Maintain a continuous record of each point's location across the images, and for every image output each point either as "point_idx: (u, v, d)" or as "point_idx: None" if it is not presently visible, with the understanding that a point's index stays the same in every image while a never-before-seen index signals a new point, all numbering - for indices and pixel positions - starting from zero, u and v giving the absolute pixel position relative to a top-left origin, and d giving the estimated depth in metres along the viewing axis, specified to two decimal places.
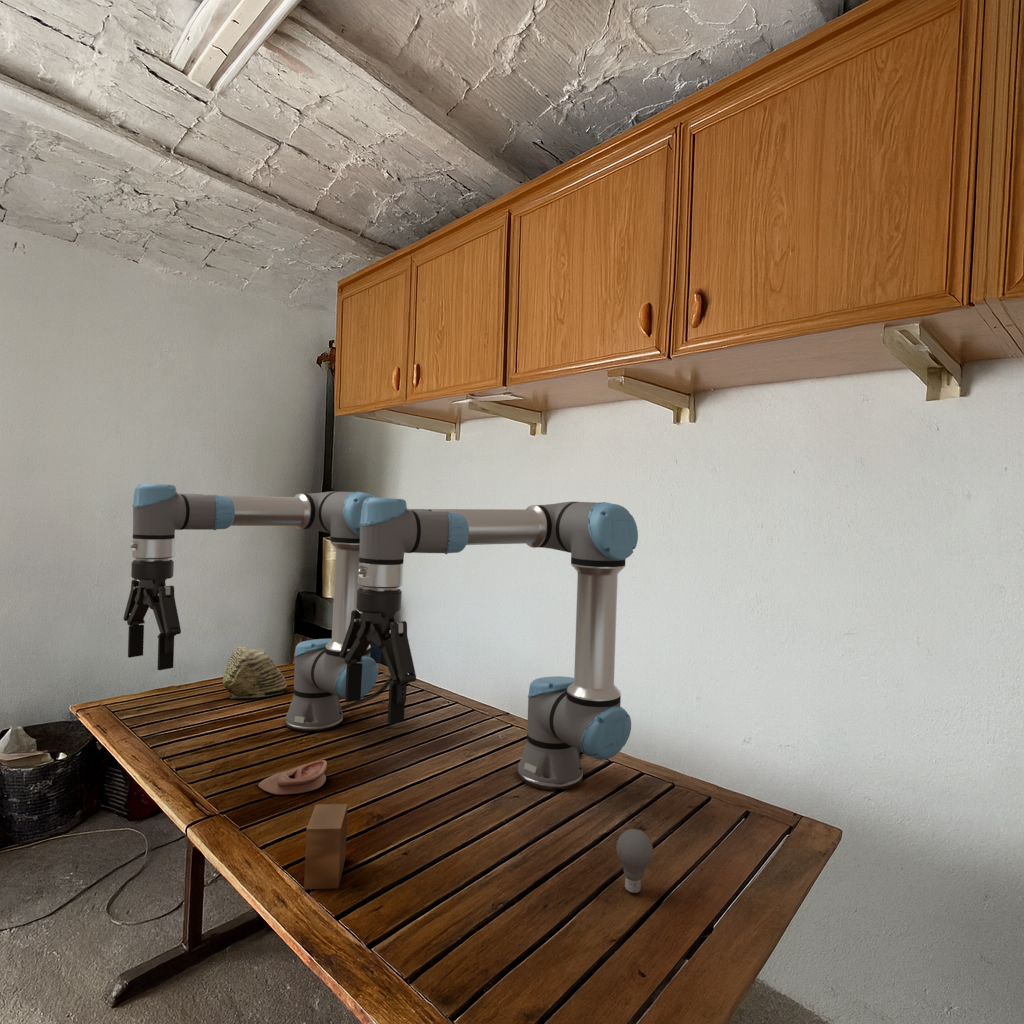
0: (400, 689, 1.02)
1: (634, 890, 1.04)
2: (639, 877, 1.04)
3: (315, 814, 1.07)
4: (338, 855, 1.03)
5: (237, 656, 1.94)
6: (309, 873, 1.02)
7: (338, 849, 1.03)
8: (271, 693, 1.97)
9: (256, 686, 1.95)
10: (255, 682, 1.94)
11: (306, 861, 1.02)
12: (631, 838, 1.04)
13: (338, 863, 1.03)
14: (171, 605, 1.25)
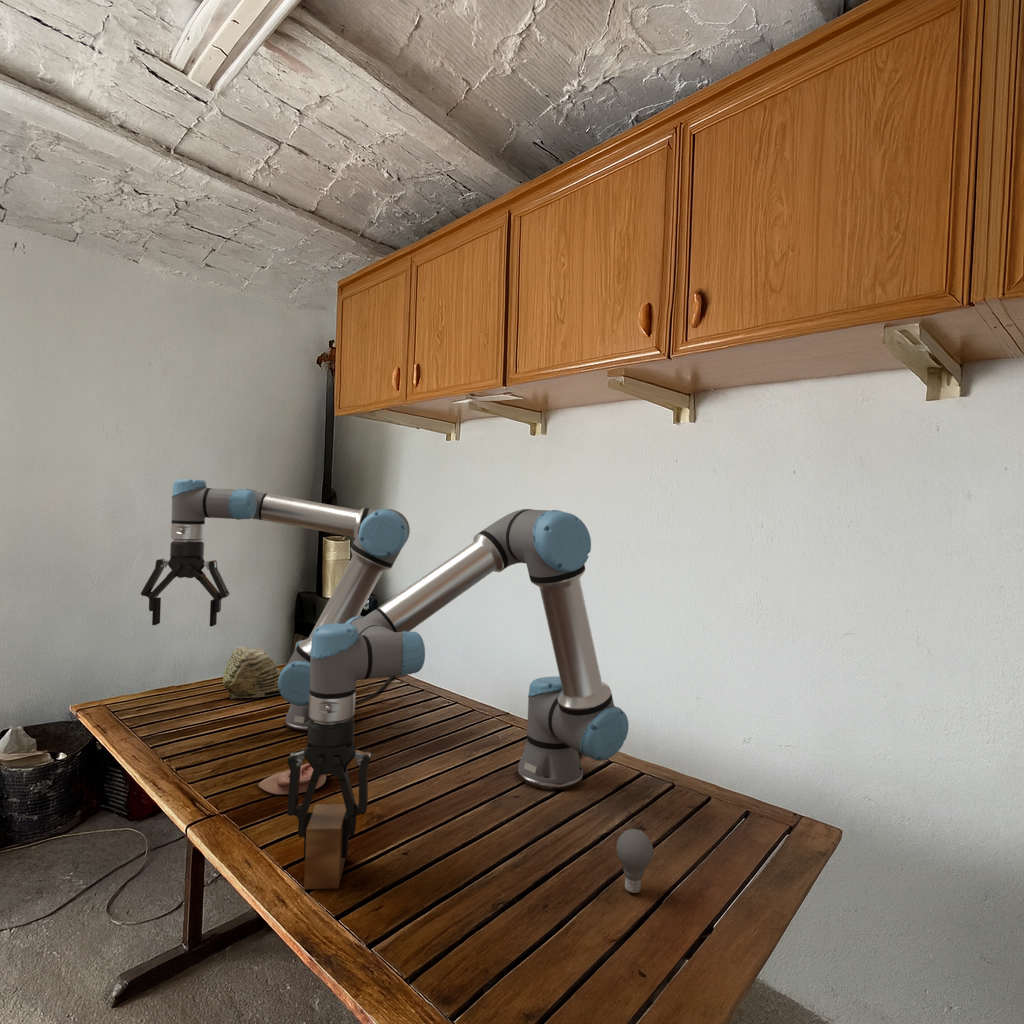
0: (355, 820, 1.07)
1: (634, 890, 1.04)
2: (639, 877, 1.04)
3: (315, 814, 1.07)
4: (338, 855, 1.03)
5: (237, 656, 1.94)
6: (309, 873, 1.02)
7: (338, 849, 1.03)
8: (271, 693, 1.97)
9: (256, 686, 1.95)
10: (255, 682, 1.94)
11: (306, 861, 1.02)
12: (631, 838, 1.04)
13: (338, 863, 1.03)
14: (219, 574, 1.60)
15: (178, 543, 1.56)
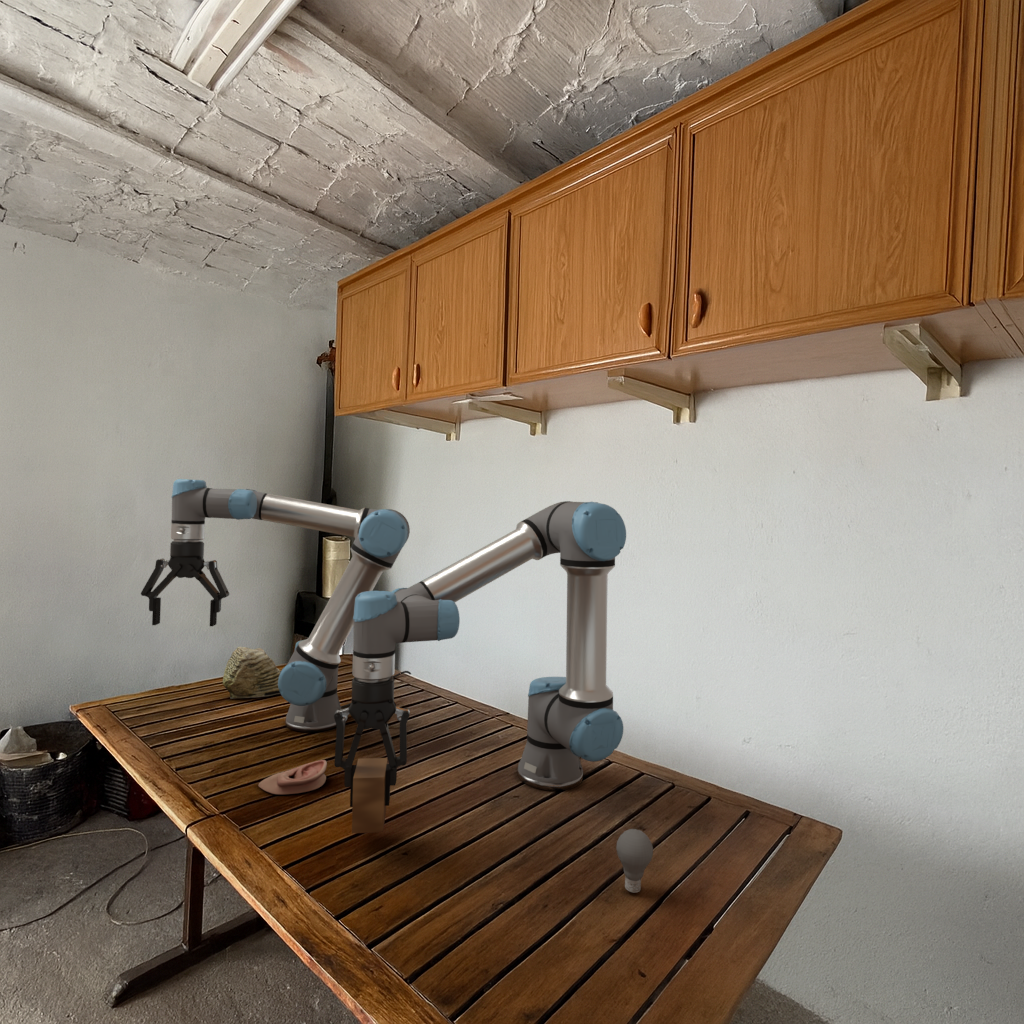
0: (396, 771, 1.16)
1: (634, 890, 1.04)
2: (639, 877, 1.04)
3: (358, 766, 1.16)
4: (382, 802, 1.12)
5: (237, 656, 1.94)
6: (357, 818, 1.12)
7: (382, 796, 1.12)
8: (271, 693, 1.97)
9: (256, 686, 1.95)
10: (255, 682, 1.94)
11: (353, 807, 1.11)
12: (631, 838, 1.04)
13: (382, 809, 1.12)
14: (219, 574, 1.60)
15: (178, 543, 1.56)
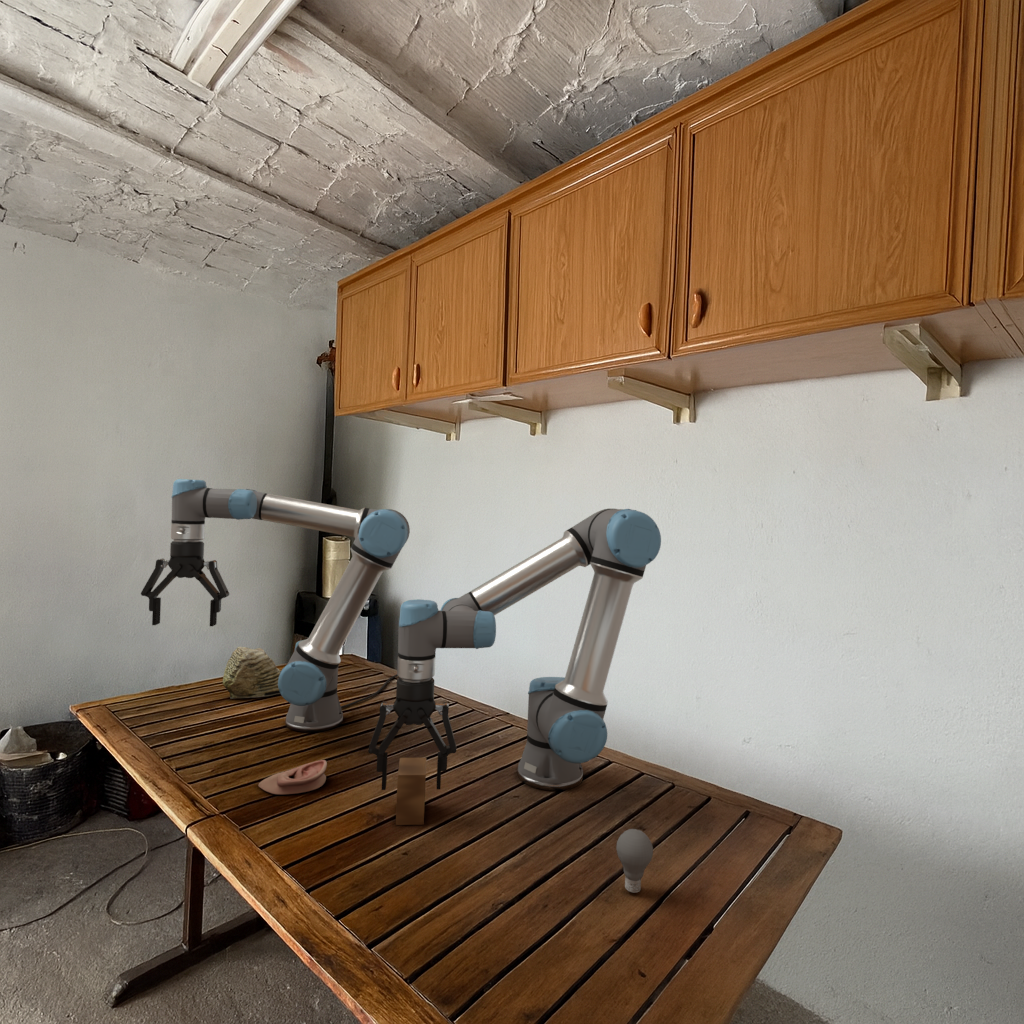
0: None
1: (634, 890, 1.04)
2: (639, 877, 1.04)
3: (401, 764, 1.28)
4: (423, 797, 1.24)
5: (237, 656, 1.94)
6: (400, 811, 1.24)
7: (423, 792, 1.24)
8: (271, 693, 1.97)
9: (256, 686, 1.95)
10: (255, 682, 1.94)
11: (397, 801, 1.24)
12: (631, 838, 1.04)
13: (423, 803, 1.24)
14: (219, 574, 1.60)
15: (178, 543, 1.56)
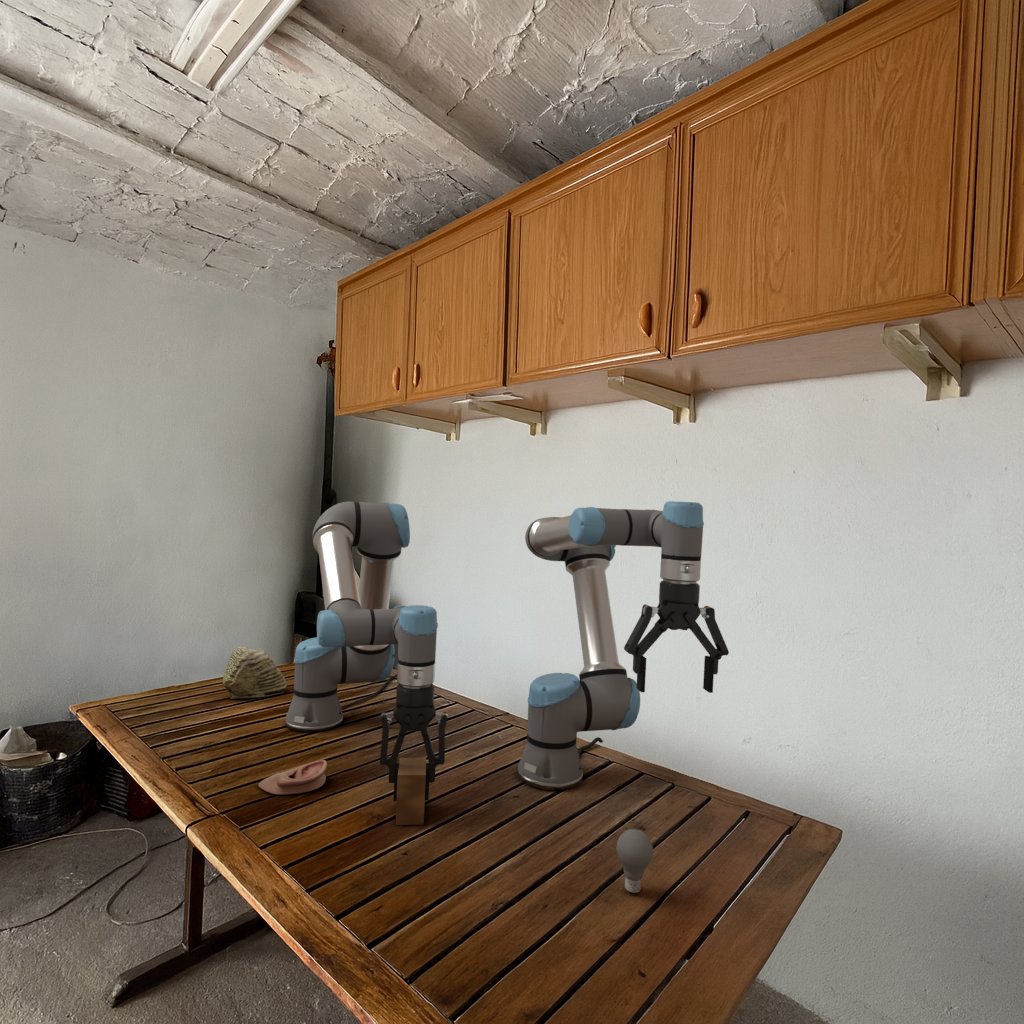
0: (717, 661, 1.23)
1: (634, 890, 1.04)
2: (639, 877, 1.04)
3: (401, 764, 1.28)
4: (423, 797, 1.24)
5: (237, 656, 1.94)
6: (400, 811, 1.24)
7: (423, 792, 1.24)
8: (271, 693, 1.97)
9: (256, 686, 1.95)
10: (255, 682, 1.94)
11: (397, 801, 1.24)
12: (631, 838, 1.04)
13: (423, 803, 1.24)
14: None
15: (410, 691, 1.24)
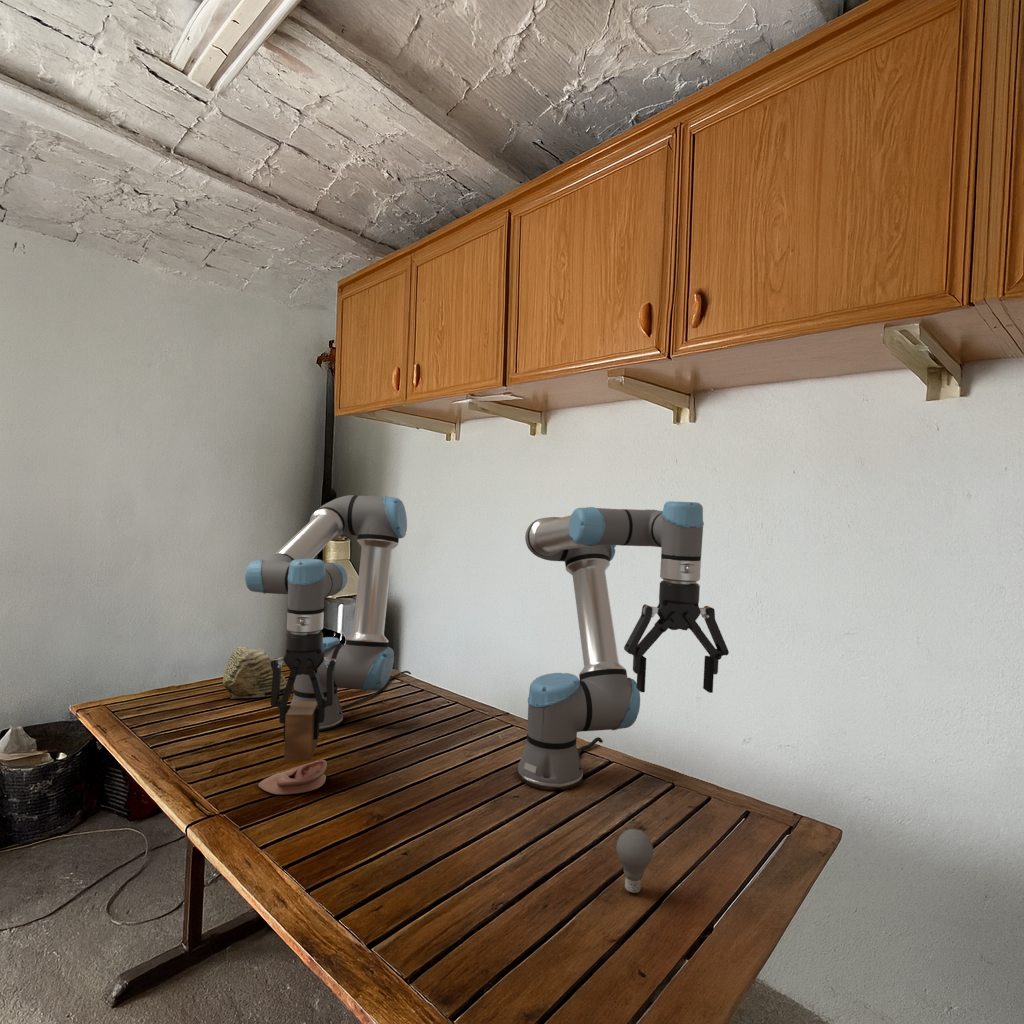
0: (717, 661, 1.23)
1: (634, 890, 1.04)
2: (639, 877, 1.04)
3: (292, 706, 1.38)
4: (310, 735, 1.34)
5: (237, 656, 1.94)
6: (288, 748, 1.33)
7: (310, 730, 1.34)
8: None
9: (256, 686, 1.95)
10: (255, 682, 1.94)
11: (285, 739, 1.33)
12: (631, 838, 1.04)
13: (310, 741, 1.34)
14: (333, 677, 1.38)
15: (297, 637, 1.33)
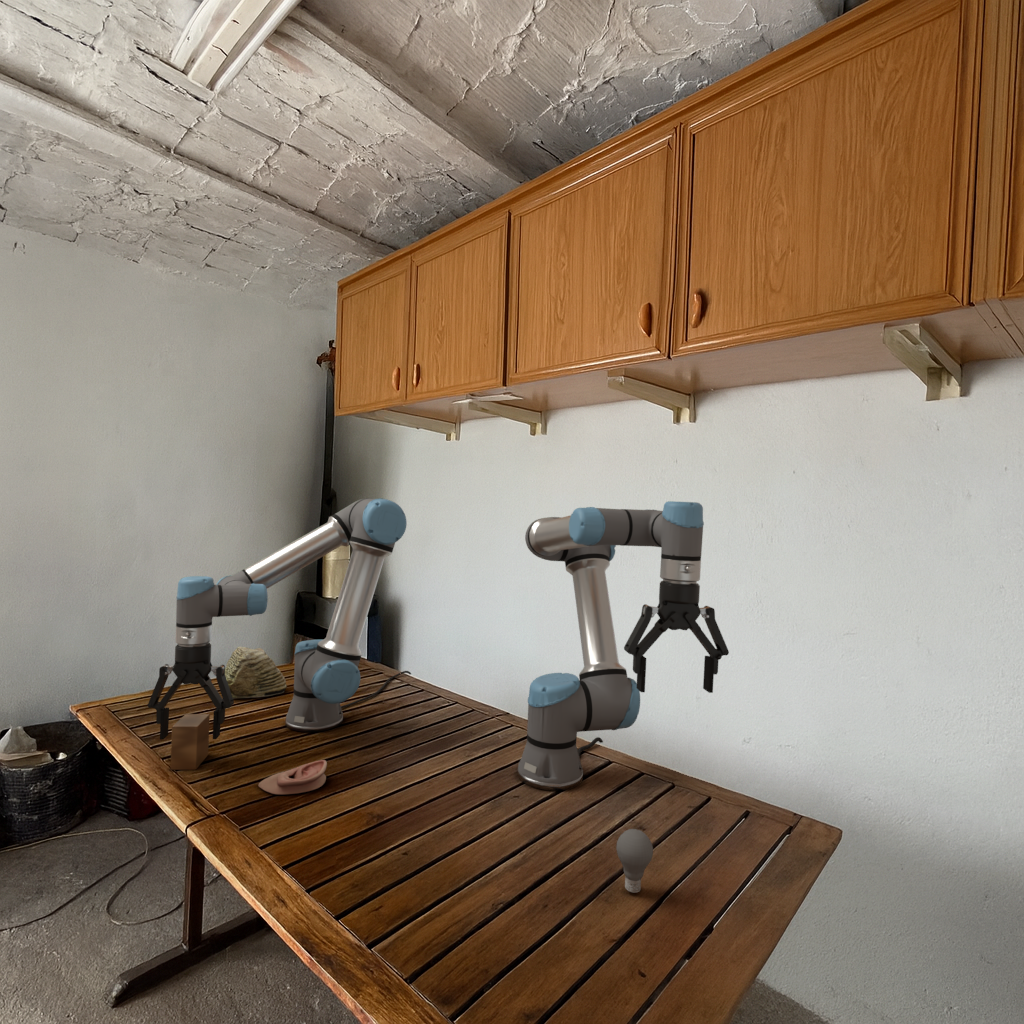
0: (717, 661, 1.23)
1: (634, 890, 1.04)
2: (639, 877, 1.04)
3: (182, 719, 1.48)
4: (195, 745, 1.44)
5: (237, 656, 1.94)
6: (174, 758, 1.43)
7: (195, 741, 1.44)
8: (271, 693, 1.97)
9: (256, 686, 1.95)
10: (255, 682, 1.94)
11: (172, 749, 1.43)
12: (631, 838, 1.04)
13: (195, 751, 1.44)
14: (225, 681, 1.49)
15: (183, 648, 1.44)
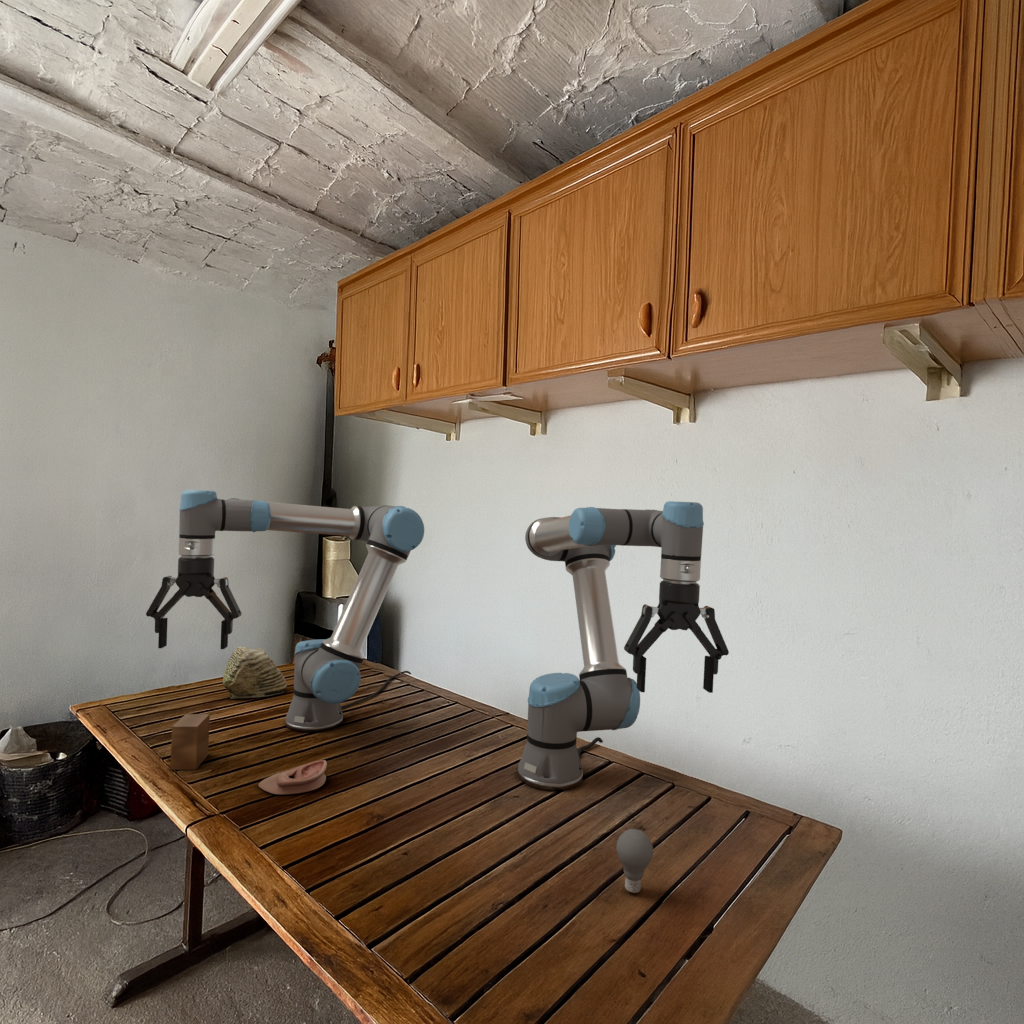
0: (717, 661, 1.23)
1: (634, 890, 1.04)
2: (639, 877, 1.04)
3: (182, 719, 1.48)
4: (195, 745, 1.44)
5: (237, 656, 1.94)
6: (174, 758, 1.43)
7: (195, 741, 1.44)
8: (271, 693, 1.97)
9: (256, 686, 1.95)
10: (255, 682, 1.94)
11: (172, 749, 1.43)
12: (631, 838, 1.04)
13: (195, 751, 1.44)
14: (230, 593, 1.48)
15: (186, 559, 1.43)
